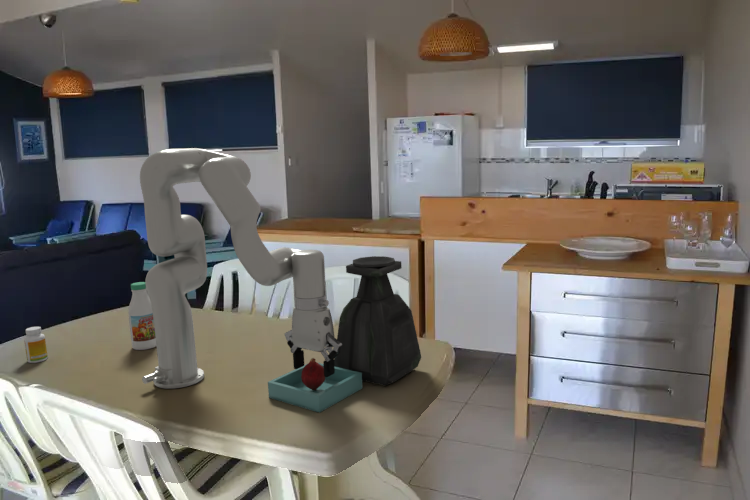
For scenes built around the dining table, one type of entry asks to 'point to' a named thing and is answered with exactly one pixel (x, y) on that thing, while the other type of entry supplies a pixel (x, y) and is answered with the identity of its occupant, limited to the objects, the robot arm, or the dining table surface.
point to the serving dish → (318, 400)
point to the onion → (313, 375)
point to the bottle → (377, 326)
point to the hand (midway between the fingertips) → (314, 371)
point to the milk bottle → (141, 318)
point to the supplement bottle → (35, 345)
